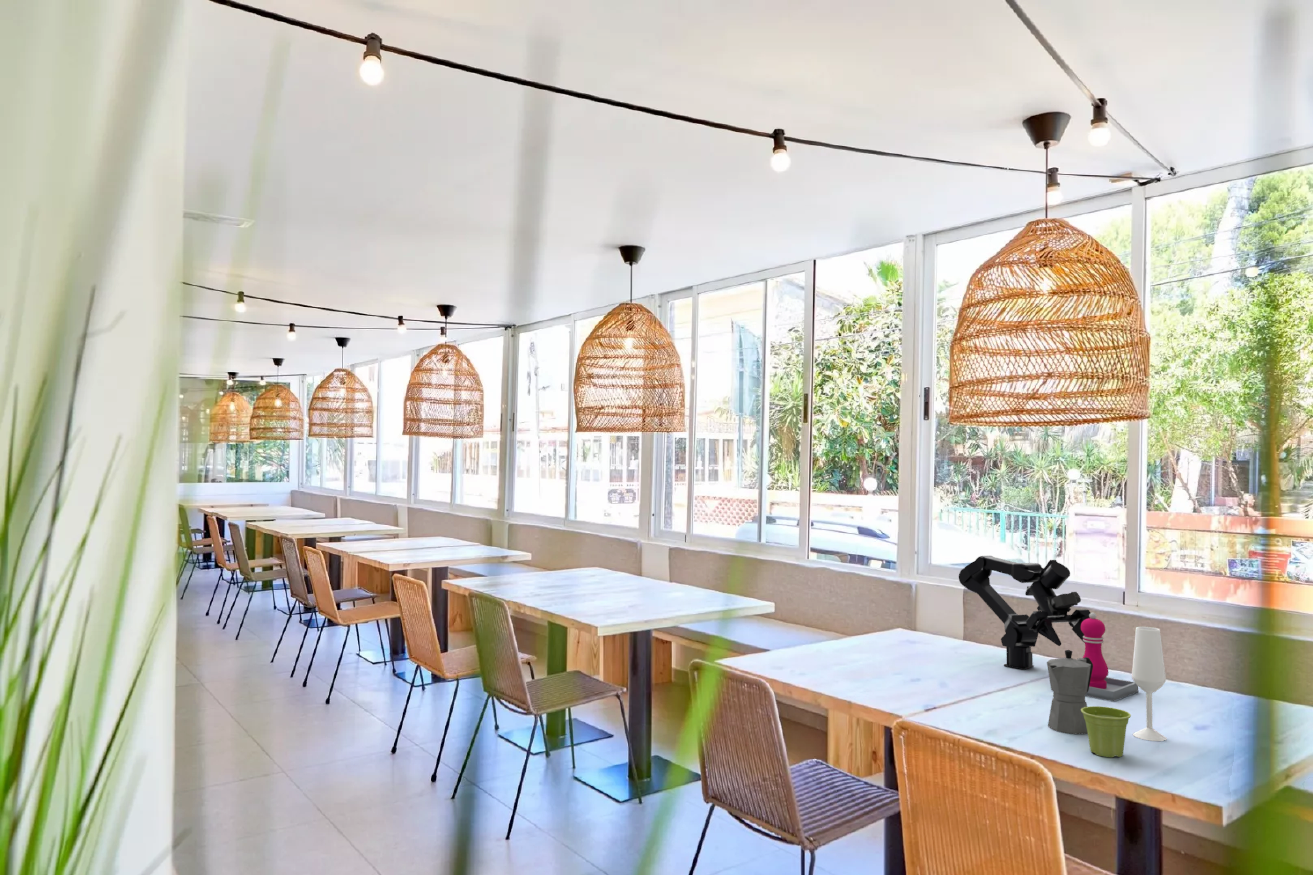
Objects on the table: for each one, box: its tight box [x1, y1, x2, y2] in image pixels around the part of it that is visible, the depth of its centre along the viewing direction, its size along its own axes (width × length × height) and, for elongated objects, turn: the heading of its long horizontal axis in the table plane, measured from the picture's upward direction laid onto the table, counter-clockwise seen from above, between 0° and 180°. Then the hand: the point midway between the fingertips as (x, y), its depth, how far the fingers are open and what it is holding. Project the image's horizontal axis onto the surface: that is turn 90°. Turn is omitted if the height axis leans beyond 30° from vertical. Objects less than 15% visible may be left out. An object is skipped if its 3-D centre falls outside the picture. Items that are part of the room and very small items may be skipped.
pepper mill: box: [1081, 612, 1109, 689], centre depth 238 cm, size 7×7×20 cm
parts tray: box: [1085, 676, 1139, 702], centre depth 237 cm, size 16×16×2 cm
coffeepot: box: [1046, 649, 1093, 735], centre depth 202 cm, size 15×9×18 cm, turn 121°
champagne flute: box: [1131, 626, 1168, 742], centre depth 196 cm, size 7×7×24 cm
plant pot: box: [1081, 705, 1132, 758], centre depth 184 cm, size 9×9×9 cm
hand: (1074, 644), depth 245 cm, fingers open, 9 cm apart
